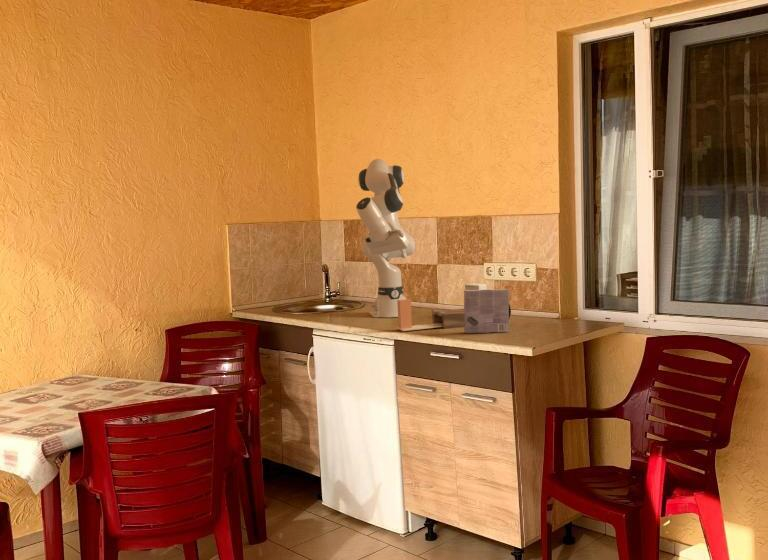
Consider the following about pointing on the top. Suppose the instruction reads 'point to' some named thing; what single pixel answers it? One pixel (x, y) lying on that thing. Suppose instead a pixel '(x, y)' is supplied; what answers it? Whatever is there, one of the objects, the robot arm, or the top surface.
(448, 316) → the walnut dispenser
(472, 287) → the skincare box
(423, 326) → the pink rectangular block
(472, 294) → the cake pan box
